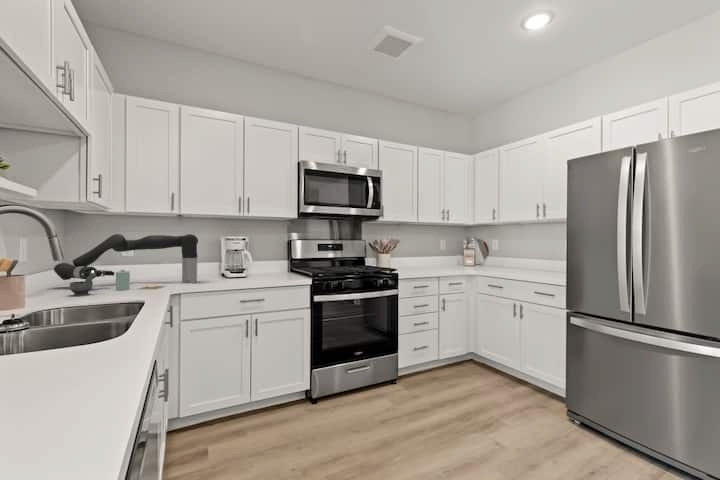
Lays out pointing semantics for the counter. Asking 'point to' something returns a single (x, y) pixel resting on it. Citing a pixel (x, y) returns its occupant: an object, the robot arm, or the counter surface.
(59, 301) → the counter surface
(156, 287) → the board
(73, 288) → the mortar and pestle
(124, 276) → the green canister
